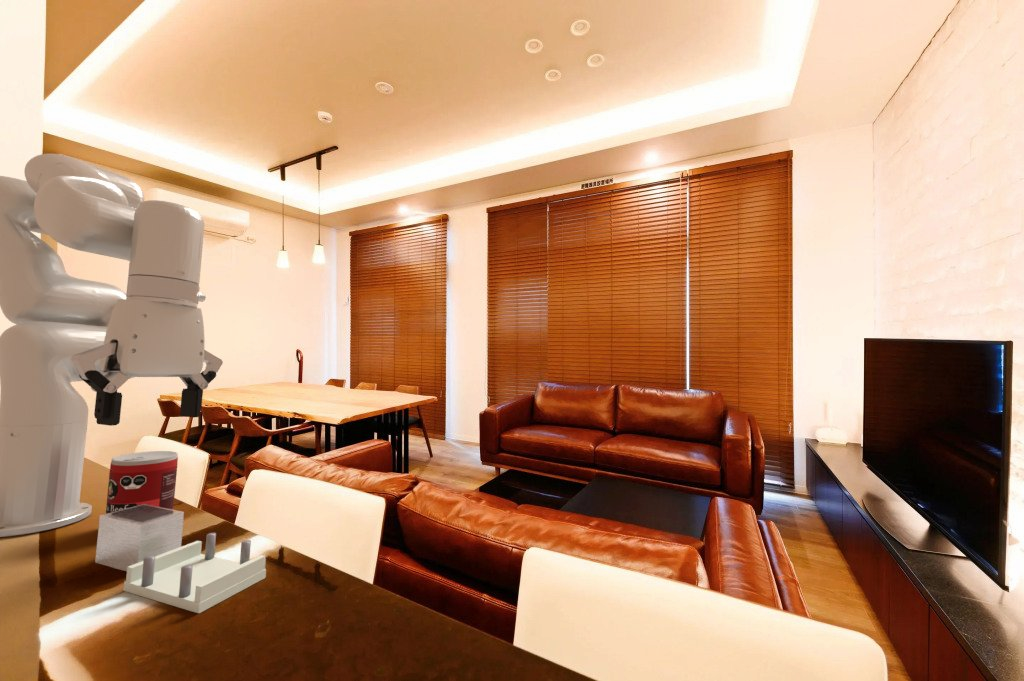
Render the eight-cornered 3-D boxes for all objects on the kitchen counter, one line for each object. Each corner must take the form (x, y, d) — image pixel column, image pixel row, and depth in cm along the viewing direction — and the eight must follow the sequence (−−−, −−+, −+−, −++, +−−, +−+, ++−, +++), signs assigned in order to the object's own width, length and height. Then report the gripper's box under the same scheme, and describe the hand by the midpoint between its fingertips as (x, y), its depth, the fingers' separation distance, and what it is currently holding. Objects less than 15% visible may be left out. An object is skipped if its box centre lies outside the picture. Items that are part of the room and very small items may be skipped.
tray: (123, 590, 47) (126, 554, 47) (196, 560, 55) (198, 529, 55) (198, 613, 43) (202, 574, 44) (265, 577, 51) (268, 544, 51)
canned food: (94, 530, 63) (102, 456, 64) (158, 514, 70) (164, 448, 71) (116, 541, 59) (124, 463, 60) (181, 523, 66) (187, 454, 67)
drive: (95, 563, 53) (99, 513, 54) (140, 547, 58) (144, 502, 58) (136, 574, 51) (141, 523, 51) (180, 557, 55) (184, 510, 56)
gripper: (207, 304, 66) (198, 412, 65) (62, 282, 50) (46, 426, 49) (242, 304, 64) (233, 416, 63) (102, 280, 47) (87, 431, 46)
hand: (152, 420), depth 56 cm, fingers open, 9 cm apart
